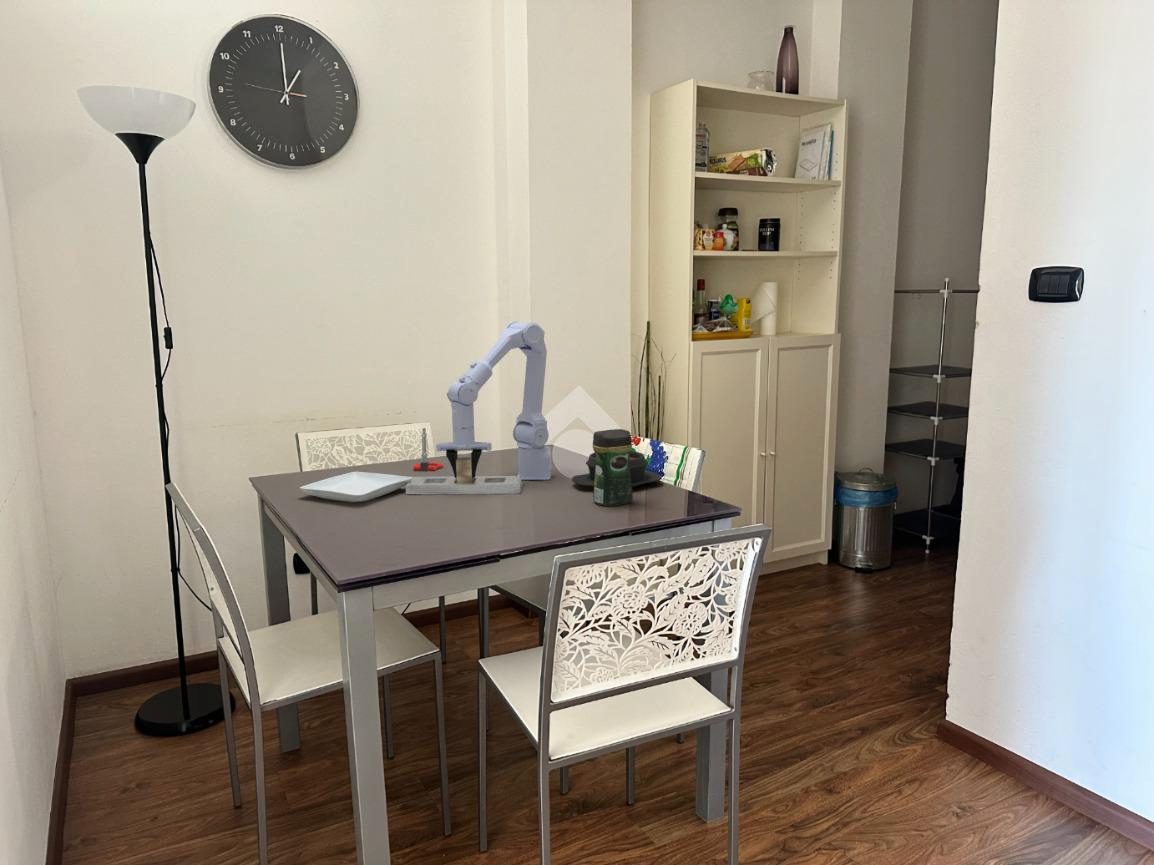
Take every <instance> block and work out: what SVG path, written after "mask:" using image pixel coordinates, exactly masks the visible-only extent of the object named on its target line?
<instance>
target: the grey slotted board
mask: <svg viewBox="0 0 1154 865" xmlns="http://www.w3.org/2000/svg"><path fill="white" fill-rule="evenodd" d="M522 488H523V480H522V476H517V475H483V476H482V475H475V478H474V483H457V478H455V476H453V475H452V476H412V480H411V481H410V482H408V483H407V484H406V485H405V495H406V494H421V495H500V494H501V495H506V494H507V495H510V494H512V495H513V494H514V495H517V494H521V491H522Z"/></svg>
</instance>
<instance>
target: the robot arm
mask: <svg viewBox="0 0 1154 865" xmlns="http://www.w3.org/2000/svg"><path fill="white" fill-rule="evenodd" d="M513 349H519V350H520V351H521V352H522V353H523V354H524V356H525V357H526V360H525V361H526V363H525V364H526V365H525V374H524V376H525V377H524V387H523V398H522V408H521V409H522V410H521V412H520V414H519V415H518V416H517V417H516V421H515V425H514V427H513V429H512V437H513V440H514V442H516V446H517V451H518V453H517V454H518V456H517V457H518V473H517V475H516V476H522V481H524V480H526V481H528V480H529V481H530V480H531V481H532V480H533V481H534V480H536V481H537V480H539V481H540V480H542V481H544V480H551V478H552V471H553V466H552V462H551V461H552V457H551V456H552V455H551V450H552V448H551V447H550V446H545V445H546V444H547V442H548V440H549V437H550V436H549V430H548V421H547V420H546V417H544V415H543V414H542V413H543V412H542V411H543V401H544V392H545V391H544V387H545V378H546V366H547V354H548V352H547V351H548V350H547V347H546V342H545V331H544V329H543V328H542V327H541V326H540V325H539V324H538V323H536V322H533V321H532V322H521V321H519V322H518V321H512V322H509V323H508V324H507V326H506V327H505V328H503V330H502V332H501V335H500V337H499V338H498V339H497V340H496V342H495V343H494V345H493V346H492V347H491V348H490V350H489V351H488V352H487V354H486V355H485V356H484V358H482V360H475V362H474V361H473V362H471V363H470V365H469V368H468V370H467V371H466V372H465V373H464V374H463V375H462V376H460V377H459V378H458V381H456V382H453V383H452V384H450V386H449V387H448V388H449V389H448V391H447V392H446V397H447V399H448V401H449V402H450V407H451V418H452V419H451V420H452V421H451V422H452V423H451V424H452V426H451V427H452V442H450V441H449V442H437V443H436V444H435V445H436V446H435V448H436V451H435V452H446V453H445V455H446V458H447V460H448V462H449V464H450V466H451V468H452V472H453V475H454V476H455V478H457V472H456V460H457V458H458V456H459V454H458V452H459V451H461V452H463V451H465V452H467V451H471V453H470V457H471V459H472V478H475V476H476V474H477V473H476V472H477V467H478V464H479V460H480V458H481V455H482V453H483V451H487V452H491V451H492V449H493V448H492V447H493V446H492V445H493V444H492V442H482V441H476V440H475V413H474V412H475V410H474V409H475V408H474V403H475V402H476V401H477V400H478V396H479V392H480V390H481V389H482V388H483V386H484V385H485V384H486V383H487V381H489V379H490V378H491V377H492V376H493V369H494V367H496V365H497V364H498V363H499V362H500V361H501V360H502V359H503V358H504V357H505V356H506V355H507V354H508V353H509V352H510V351H511V350H513Z"/></svg>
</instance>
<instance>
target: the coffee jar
mask: <svg viewBox="0 0 1154 865" xmlns="http://www.w3.org/2000/svg"><path fill="white" fill-rule="evenodd" d="M592 439H593V440H592V450H593V453H595V458H596V466H595V480H594V486H593V492H592V494H593V498H592V499H593V501H594V503H595V504H597V505H598V506H601V505H602V506H605V507H612V506H613V505H615V506H621V505H620V504H622V505H626V504H630V503H632V501H633V500H634V499H633V498H634V495H633V488H632V484H631V475H630V462H629V460H630V451H632V447H633V443H632V435H631V432H630V431H629V430H626V429H623V428H616V429H615V428H614V429H605V430H597V431H594V432H593V436H592Z"/></svg>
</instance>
